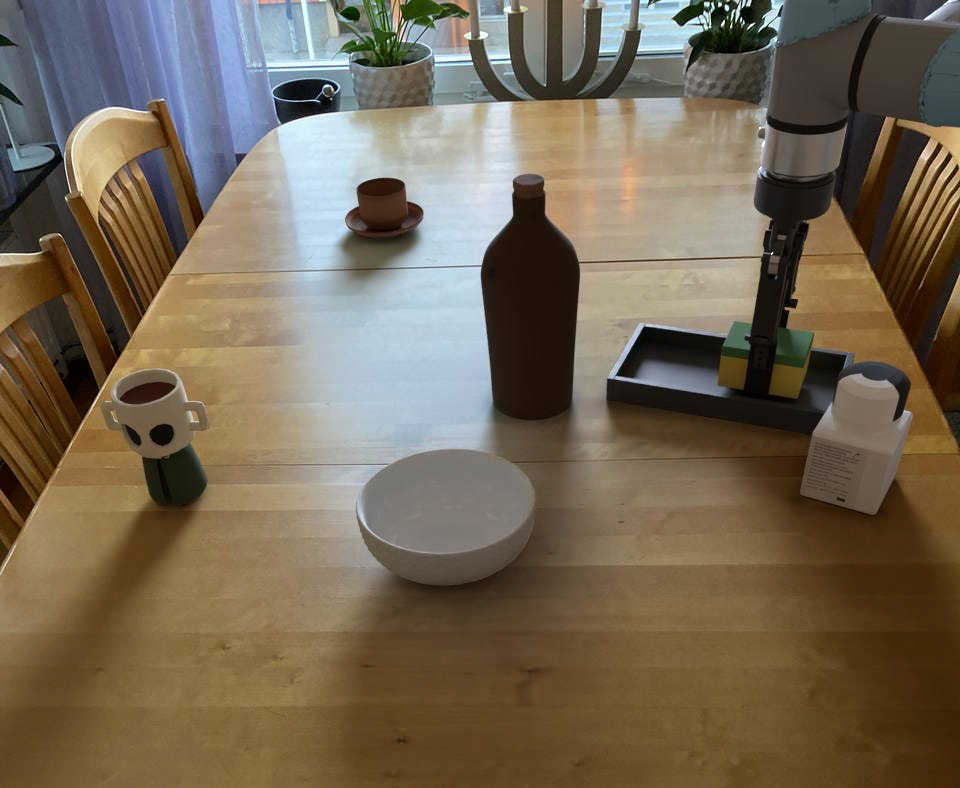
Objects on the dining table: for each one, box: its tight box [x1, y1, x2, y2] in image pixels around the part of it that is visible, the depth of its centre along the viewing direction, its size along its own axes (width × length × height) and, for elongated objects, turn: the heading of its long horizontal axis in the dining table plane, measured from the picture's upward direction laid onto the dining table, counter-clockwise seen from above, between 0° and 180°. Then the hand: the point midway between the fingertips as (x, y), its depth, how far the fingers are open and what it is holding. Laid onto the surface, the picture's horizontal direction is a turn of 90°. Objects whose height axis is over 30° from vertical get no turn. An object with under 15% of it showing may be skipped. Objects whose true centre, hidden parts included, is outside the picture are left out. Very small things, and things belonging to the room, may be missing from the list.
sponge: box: [717, 320, 815, 399], centre depth 113 cm, size 9×6×5 cm, turn 68°
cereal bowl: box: [355, 448, 537, 587], centre depth 96 cm, size 17×17×7 cm
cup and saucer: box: [344, 177, 425, 239], centre depth 151 cm, size 12×12×6 cm
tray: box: [605, 321, 856, 435], centre depth 116 cm, size 26×14×3 cm, turn 68°
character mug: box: [99, 367, 211, 506], centre depth 104 cm, size 11×7×13 cm, turn 85°
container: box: [799, 360, 914, 516], centre depth 98 cm, size 8×8×13 cm
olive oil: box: [480, 173, 581, 420], centre depth 109 cm, size 11×11×25 cm
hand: (762, 376), depth 114 cm, fingers closed on sponge, 6 cm apart
